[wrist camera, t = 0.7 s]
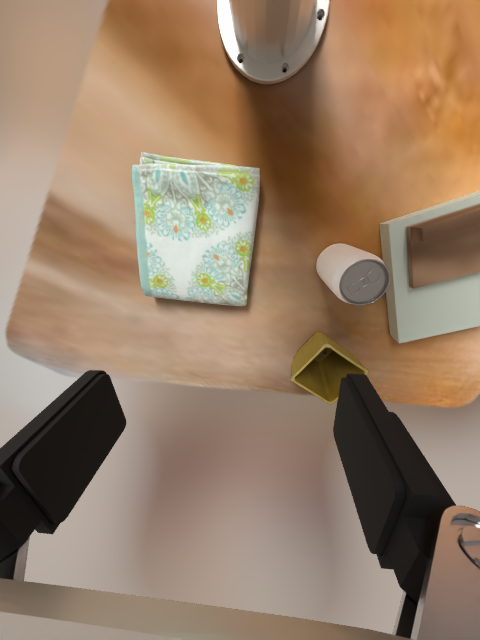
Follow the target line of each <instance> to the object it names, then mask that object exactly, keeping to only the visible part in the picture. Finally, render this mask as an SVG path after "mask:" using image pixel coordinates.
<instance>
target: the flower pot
mask: <svg viewBox="0 0 480 640" xmlns="http://www.w3.org/2000/svg"><path fill="white" fill-rule="evenodd" d="M324 351H326V353H323V352H324ZM348 373H354V374H365V375H367V374H368V373H369V372H368V370H367V369H366V368H365V367H364V366H363V365H362V363H361V362H360V361H359V360H358V359H357V358H356V357H355V356H354V355H353V354H352V353H351V352H350V351H348V350H347V349H345V348H344V347H342V346H341V345H339V344H338V343H336V342H335V341H333V340H332V339H330V338H329V337H327V336H326V335H325V334H323V333H322V332H319V331H318V332H316V333H315V334H314V335H313V336H312V337H311V338H310V339H309V340H308V341H307V342H306V343H305V344H304V345H303V346H302V347H301V348H300V350H299V351H298V352H297V353H296V355H295V356H294V358H293V361H292V370H291V380H292V381H293V382H294V383H296V384H297V385H299V386H300V387H302V388H304V389H305V390H307V391H308V392H310V393H312V394H313V395H315V396H317V397H318V398H320V399H321V400H323V401H325V402H327V403H328V404H333V403H334V402H336V401H337V400H338V395H339V389H340V383H341V378H342V377H346V375H347V374H348Z"/></svg>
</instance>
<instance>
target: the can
mask: <svg viewBox="0 0 480 640" xmlns="http://www.w3.org/2000/svg"><path fill="white" fill-rule="evenodd" d="M316 269H317V273H318V275H319V276H320V278H321V279H322V280H323V281H324V282H325V284H326V285H327V286H328V287H329V288H330V289H331V291H332V292H333V293H334V294H335V295H336V296H337V297H338V298H339V299H341V300H342V301H344V302H346V303H350V304H353V305H367V304H371V303H373V302H375V301H376V300H378V299H379V298H381V297H382V296H383V294H384V293H385V292H386V290H387V289H388V286H389V283H390V273H389V270H388V268H387V267H386V265H385V263H384V262H383V261H382V260H381V259H380V258H379V257H377V256H376V255H374V254H371V253H369V252H366V251H363V250H361V249H358V248H355V247H353V246H350V245H347V244H342V243H338V244H333V245H330V246H328V247H327V248H325V249H324V250H323V251H322V252H321V254H320V255H319V257H318V259H317V263H316Z"/></svg>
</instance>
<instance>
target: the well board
mask: <svg viewBox="0 0 480 640" xmlns="http://www.w3.org/2000/svg"><path fill="white" fill-rule="evenodd" d="M479 203H480V190H479V191H476V192H473V193H470V194H467V195H464V196H461V197H458V198H455V199H452V200H449V201H446V202H443V203H440V204H437V205H434V206H431V207H428V208H425V209H422V210H419V211H416V212H413V213H409V214H406V215H403V216H400V217H397V218H394V219H391V220H388V221H385V222H382V223H379V229H380V238H381V248H382V258H383V262H384V263H385V265H386V267H387V268H388V270H389V273H390V283H389V286H388V289H387V290H386V298H387V308H388V318H389V328H390V335H391V336H392V337H393V338H394V339H395V340H396V341H397V342H398V343H404V342H408V341H413V340H418V339H422V338H427V337H432V336H436V335H441V334H445V333H450V332H455V331H459V330H464V329H469V328H473V327H478V326H480V272H476V273H472V274H468V275H465V276H461V277H457V278H453V279H449V280H445V281H442V282H438V283H434V284H430V285H426V286H423V287H419V288H415V289H413V288H411V287H410V285H409V268H408V251H407V234H406V227H407V226H410V225H413V224H416V223H419V222H423V221H426V220H429V219H432V218H435V217H438V216H441V215H445V214H448V213H451V212H454V211H457V210H460V209H463V208H467V207H470V206H473V205H476V204H479Z"/></svg>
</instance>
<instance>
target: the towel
mask: <svg viewBox="0 0 480 640" xmlns="http://www.w3.org/2000/svg"><path fill="white" fill-rule="evenodd" d="M259 173H260V168H251V167H245V166H235V165H229V164H222V163H216V162H208V161H199V160H186V159H180V158H173V157H167V156H161V155H155V154H150V153H146V152H142V153H141V159H140V165H133V166H132V183H133V191H134V202H135V216H136V239H137V253H138V264H139V273H140V281H141V288H142V290H143V292H144V295H146V296H151V297H155V298H165V299H174V300H183V301H192V302H200V303H209V304H219V305H228V306H246V305H247V294H248V284H249V275H250V267H251V260H252V253H253V245H254V236H255V229H256V220H257V213H258V205H259V195H260V175H259Z"/></svg>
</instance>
